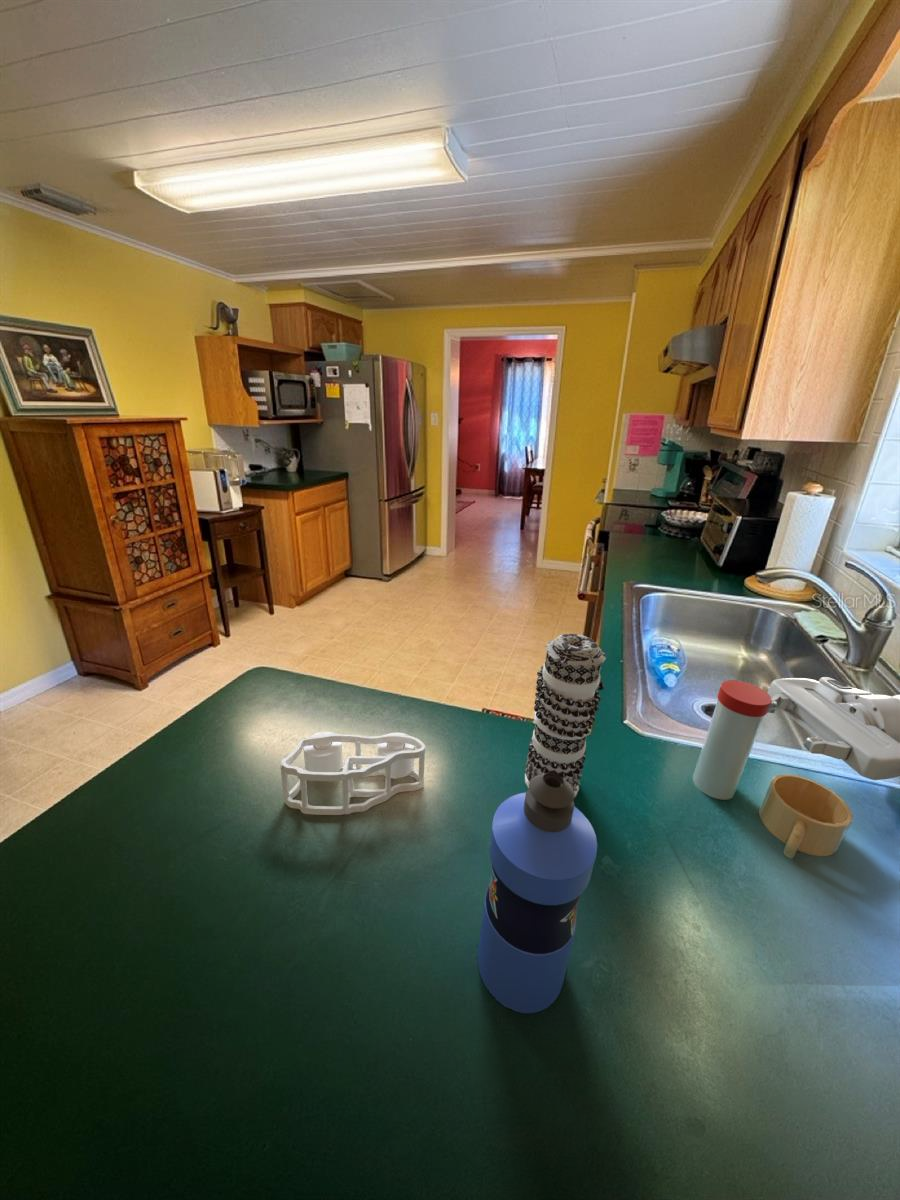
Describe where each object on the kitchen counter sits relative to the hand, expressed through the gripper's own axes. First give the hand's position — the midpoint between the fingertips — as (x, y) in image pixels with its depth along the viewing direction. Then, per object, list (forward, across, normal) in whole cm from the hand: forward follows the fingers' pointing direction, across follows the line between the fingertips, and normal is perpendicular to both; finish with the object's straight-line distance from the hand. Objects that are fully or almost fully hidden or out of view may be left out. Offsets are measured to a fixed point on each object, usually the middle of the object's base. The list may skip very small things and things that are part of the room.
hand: (784, 724), depth 72 cm
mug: (+2, -10, -12) cm, 16 cm away
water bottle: (+45, -24, -12) cm, 53 cm away
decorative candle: (+34, +1, -12) cm, 37 cm away
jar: (+9, -1, -12) cm, 15 cm away
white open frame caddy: (+65, +2, -12) cm, 66 cm away
